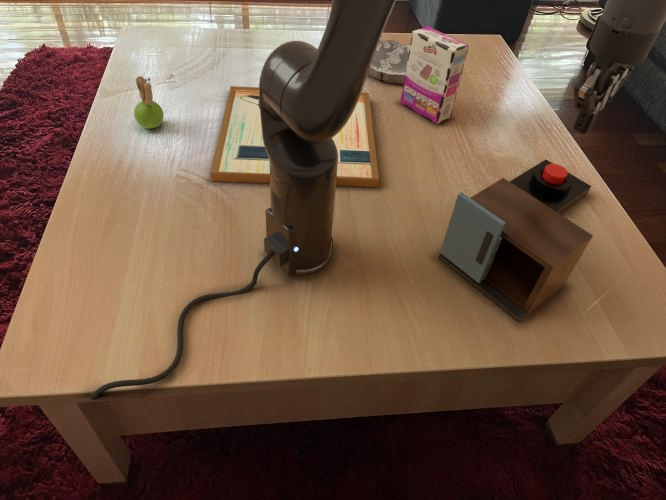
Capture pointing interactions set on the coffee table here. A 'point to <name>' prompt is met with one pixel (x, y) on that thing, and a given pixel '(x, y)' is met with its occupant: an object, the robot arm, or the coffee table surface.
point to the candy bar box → (433, 73)
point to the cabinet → (525, 250)
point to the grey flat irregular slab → (390, 62)
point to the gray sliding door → (471, 237)
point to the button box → (551, 188)
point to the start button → (554, 174)
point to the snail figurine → (147, 106)
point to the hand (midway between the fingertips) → (580, 130)
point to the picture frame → (252, 159)
